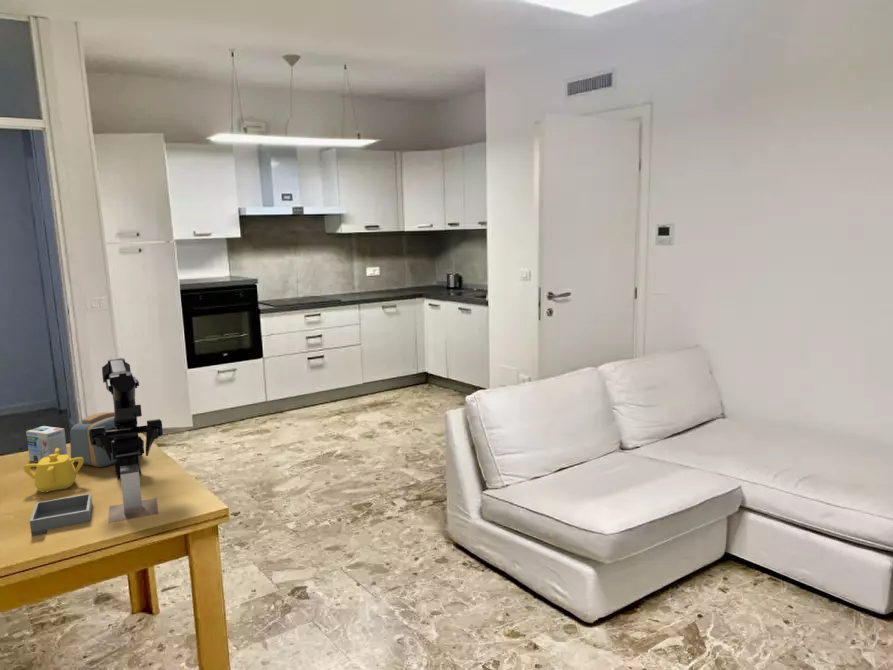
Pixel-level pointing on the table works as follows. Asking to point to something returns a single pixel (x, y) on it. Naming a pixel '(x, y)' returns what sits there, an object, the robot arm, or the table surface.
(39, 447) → the light bulb box
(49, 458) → the teapot
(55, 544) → the table surface
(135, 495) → the strut
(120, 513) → the stud base
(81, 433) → the grey toaster
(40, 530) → the bin
